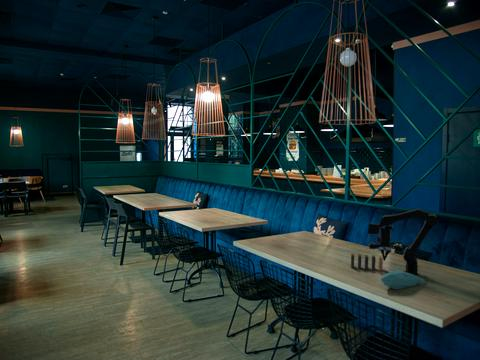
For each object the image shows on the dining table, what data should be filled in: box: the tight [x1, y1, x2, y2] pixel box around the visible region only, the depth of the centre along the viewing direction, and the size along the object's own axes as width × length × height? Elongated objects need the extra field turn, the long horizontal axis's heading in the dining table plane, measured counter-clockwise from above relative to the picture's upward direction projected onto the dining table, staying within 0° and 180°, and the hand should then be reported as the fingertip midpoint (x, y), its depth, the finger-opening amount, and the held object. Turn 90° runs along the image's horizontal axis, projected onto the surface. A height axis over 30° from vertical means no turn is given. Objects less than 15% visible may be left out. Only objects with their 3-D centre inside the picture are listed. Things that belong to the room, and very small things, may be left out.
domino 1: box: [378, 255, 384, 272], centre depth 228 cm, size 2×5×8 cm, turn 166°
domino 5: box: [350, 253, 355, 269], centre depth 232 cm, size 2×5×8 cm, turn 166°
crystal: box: [380, 269, 426, 290], centre depth 199 cm, size 10×34×10 cm, turn 114°
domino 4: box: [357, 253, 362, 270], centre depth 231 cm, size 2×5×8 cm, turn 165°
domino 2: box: [371, 255, 376, 271], centre depth 229 cm, size 2×5×8 cm, turn 166°
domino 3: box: [364, 254, 369, 270], centre depth 230 cm, size 2×5×8 cm, turn 166°
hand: (384, 260), depth 227 cm, fingers closed
